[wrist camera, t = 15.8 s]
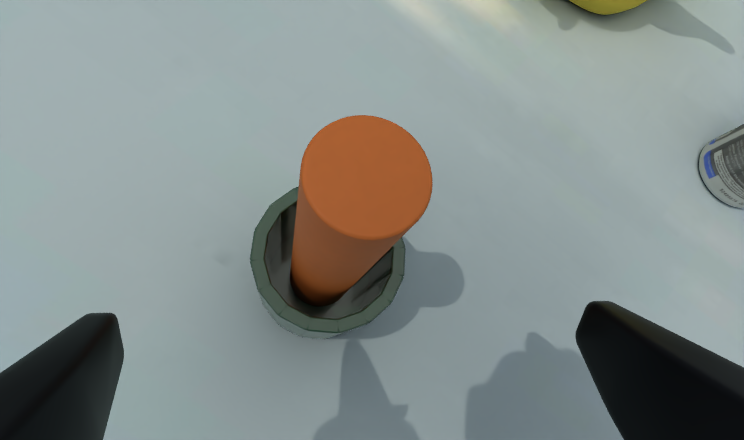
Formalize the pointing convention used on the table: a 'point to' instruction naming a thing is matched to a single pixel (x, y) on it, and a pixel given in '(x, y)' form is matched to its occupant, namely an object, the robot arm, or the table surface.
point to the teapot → (607, 5)
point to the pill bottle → (725, 167)
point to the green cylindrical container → (295, 314)
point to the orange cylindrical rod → (354, 203)
